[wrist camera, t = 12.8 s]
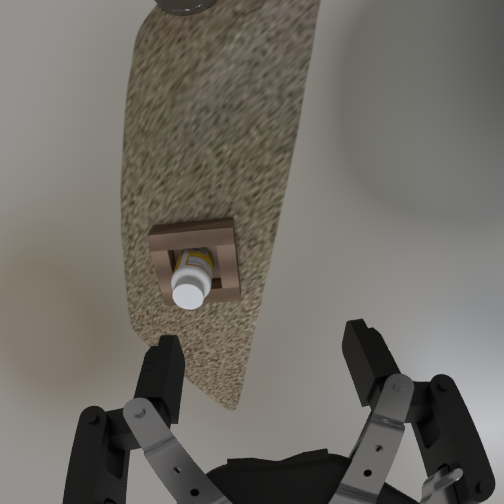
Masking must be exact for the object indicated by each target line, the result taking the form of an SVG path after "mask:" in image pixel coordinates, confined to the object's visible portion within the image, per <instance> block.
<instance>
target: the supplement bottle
mask: <svg viewBox="0 0 504 504" xmlns="http://www.w3.org/2000/svg"><path fill="white" fill-rule="evenodd" d="M213 265H214V259H213V256H212V254H211V252H210V251H209V250H208V249H207V248H205V247H199V248H188V249H183V250H182V252H181V253H180V255H179V258H178V261H177V264H176V267H175V270H174V272H173V275H172V279H171V286H172V289H173V294H172V296H173V300H174V302H175V303H176V304H177V305H178V306H179V307H181V308H184V309H195V308H198V307H199V306H200V305H201V304H202V303H203V300H204V298H205V297H206V296H207V295H208V293H209V292H210V289H211V282H212V273H213Z"/></svg>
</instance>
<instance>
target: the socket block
mask: <svg viewBox="0 0 504 504" xmlns="http://www.w3.org/2000/svg"><path fill="white" fill-rule="evenodd" d="M147 238H148V242H149V247H150V251H151V255H152V259H153V263H154V267H155V271H156V274H157V278H158V282H159V285H160V289H161V292H162V296H163V299H164V303H165V305H177V304H176V303H175V302H174V300H173V296H172V294H173V289H172V286H171V279H172V275H173V272H174V270H175V267H176V264H177V261H178V258H179V255H180V253H181V252H182V250H183V249H188V248H199V247H205V248H207V249H208V250H209V251H210V252H211V254H212V256H213V259H214V265H213V273H212V282H211V289H210V292H209V293H208V295H207V296H206V297H205V298H204V300H203V303H214V302H228V301H241V291H240V279H239V270H238V261H237V251H236V242H235V232H234V222H233V218H227V219H216V220H206V221H195V222H186V223H176V224H167V225H158V226H153V228H152V229H151V231H150V232H149V234H148V235H147Z"/></svg>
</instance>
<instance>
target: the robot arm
mask: <svg viewBox="0 0 504 504" xmlns="http://www.w3.org/2000/svg"><path fill="white" fill-rule="evenodd" d="M155 1H156V3H157V4H158V5H159V6H160V8H162V9H163V10H164V11H166V12H168V13H170V14H174V15H191V14H195V13H198V12H201V11H203V10H205V9H207V8H208V7H210V6H211V5H212V4H214V3H215V1H216V0H155ZM342 351H343V355H344V358H345V360H346V363H347V366H348V368H349V371H350V374H351V377H352V380H353V382H354V385H355V388H356V391H357V393H358V396H359V399H360V402H361V405H362V407H364V406H368V405H370V408H371V412H370V414H369V416H368V419H367V421H366V423H365V426H364V428H363V430H362V432H361V434H360V436H359V438H358V440H357V442H356V444H355V446H354V448H353V450H352V451H351V453H350V455H349V457H348V458H347V457H344V456H341V455H337V454H329V453H328V450H327V448H326V449H320V450H315V451H309V452H303V453H301V454H298V455H295V456H292V457H289V458H287V459H284V460H281V461H272V460H264V459H257V458H241V459H240V458H238V459H227V464H226V465H222V466H219V467H217V468H215V469H213V470H211V471H210V472H208V473H207V474H204V472H203V471H202V470H201V469H200V468H199V467H198V465H197V464H196V463H195V462H194V461H193V460H192V458H191V457H190V456H189V454H188V453H187V452H186V451H185V449H184V448H183V447H182V445H181V444H180V443H179V442H178V440H177V439H176V438H175V437H174V435H173V434H172V433H171V431H170V426H171V424H178V419H179V410H180V402H181V394H182V386H183V379H184V371H185V358H184V354H183V351H182V348H181V345H180V342H179V339H178V336H177V335H161V337H160V340H159V344H158V346H151V347H150V349H149V350H148V351H147V352H146V354H145V357H144V361H143V364H142V368H141V372H140V375H139V379H138V383H137V387H136V391H135V395H134V398H133V399H132V400H130V401H129V402H127V403H126V405H125V406H124V408H121V409H117V410H112V411H107V412H105V411H104V410H103V409H102V408H100V407H98V406H90V407H88V408H86V409H84V411H83V412H82V413H81V415H80V418H79V422H78V426H77V430H76V434H75V438H74V442H73V447H72V452H71V456H70V461H69V467H68V473H67V477H66V483H65V490H64V497H63V504H126V490H127V477H128V466H129V457H130V450H132V449H138V448H142V449H143V451H144V455H145V457H146V459H147V460H148V462H149V463H150V465H151V467H152V468H153V470H154V471H155V472H156V474H157V475H158V477H159V478H160V480H161V481H162V482H163V484H164V485H165V487H166V488H167V489H168V491H169V492H170V493H171V495H172V496H173V497H174V499H175V500H176V501H177V504H479V503H481V502H483V501H485V500H487V499H488V498H489V497H490V496H491V495H492V493H493V491H494V489H495V478H494V475H493V472H492V469H491V466H490V463H489V460H488V458H487V455H486V452H485V450H484V447H483V444H482V442H481V439H480V437H479V434H478V432H477V430H476V427H475V425H474V423H473V421H472V418H471V416H470V414H469V412H468V409H467V407H466V405H465V403H464V400H463V398H462V397H461V394H460V392H459V390H458V388H457V386H456V384H455V382H454V381H453V379H452V378H451V377H449V376H447V375H444V374H439V375H436V376H434V377H433V378H432V380H431V381H430V382H415V381H412V380H411V379H410V378H409V377H408V376H406V375H404V374H401V372H400V371H399V368H398V367H397V364H396V362H395V360H394V358H393V356H392V355H391V353H390V351H389V350H388V347H387V345H386V343H385V341H384V339H383V338H382V336H381V334H380V333H379V332H378V331H377V330H375V329H374V328H368V327H367V325H366V323H365V322H364V320H363V319H357V320H350V321H347V323H346V327H345V332H344V337H343V341H342ZM404 423H411V425H412V428H413V430H414V433H415V437H416V440H417V443H418V446H419V449H420V452H421V456H422V459H423V462H424V466H425V469H426V473H427V476H428V478H427V479H426V481H425V482H424V484H423V486H422V499H421V501H420V503H418V502H417V501H416V500H414V499H412V498H411V497H409V496H407V495H405V494H404V493H402V492H400V491H399V490H397V489H396V488H394V487H392V486H391V485H389V484H387V483H386V482H385V479H386V477H387V475H388V472H389V470H390V468H391V465H392V463H393V460H394V458H395V455H396V453H397V450H398V448H399V445H400V442H401V439H402V436H403V434H404V430H405V426H404Z"/></svg>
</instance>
